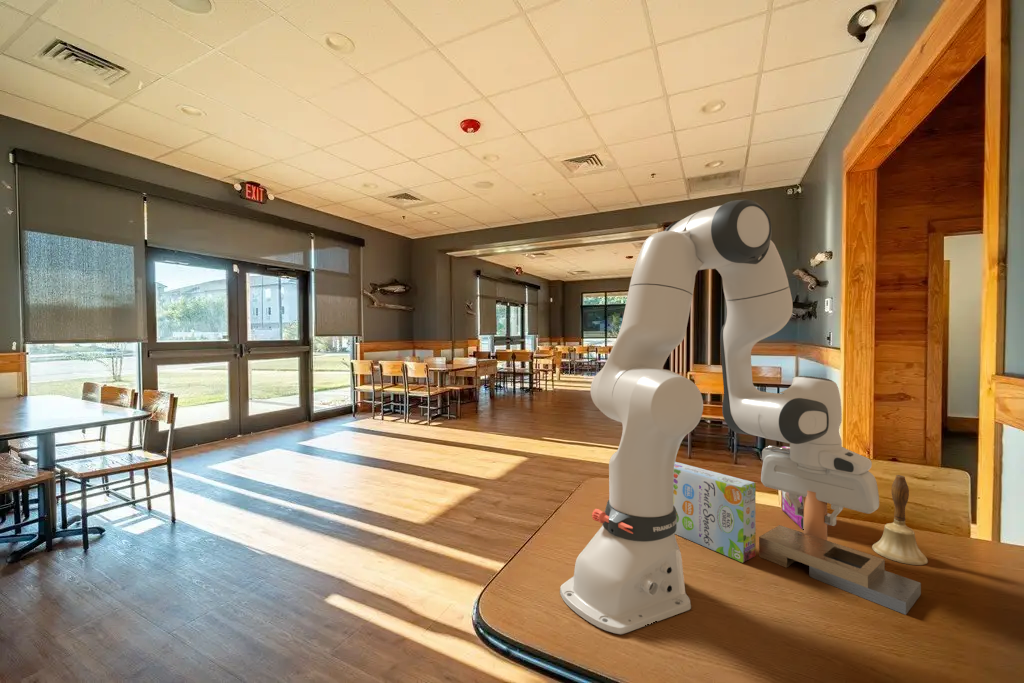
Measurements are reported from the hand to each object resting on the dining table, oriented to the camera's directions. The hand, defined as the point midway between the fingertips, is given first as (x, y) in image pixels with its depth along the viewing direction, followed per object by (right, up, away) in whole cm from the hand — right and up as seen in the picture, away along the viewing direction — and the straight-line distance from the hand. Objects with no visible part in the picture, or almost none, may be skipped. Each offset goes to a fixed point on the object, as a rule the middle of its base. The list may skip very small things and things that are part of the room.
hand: (815, 519), depth 88 cm
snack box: (-22, -6, +4) cm, 23 cm away
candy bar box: (+6, -6, +13) cm, 15 cm away
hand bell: (+15, -6, -3) cm, 16 cm away
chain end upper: (-5, -6, -8) cm, 11 cm away
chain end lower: (-1, -6, -14) cm, 15 cm away
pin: (0, -6, 0) cm, 6 cm away
